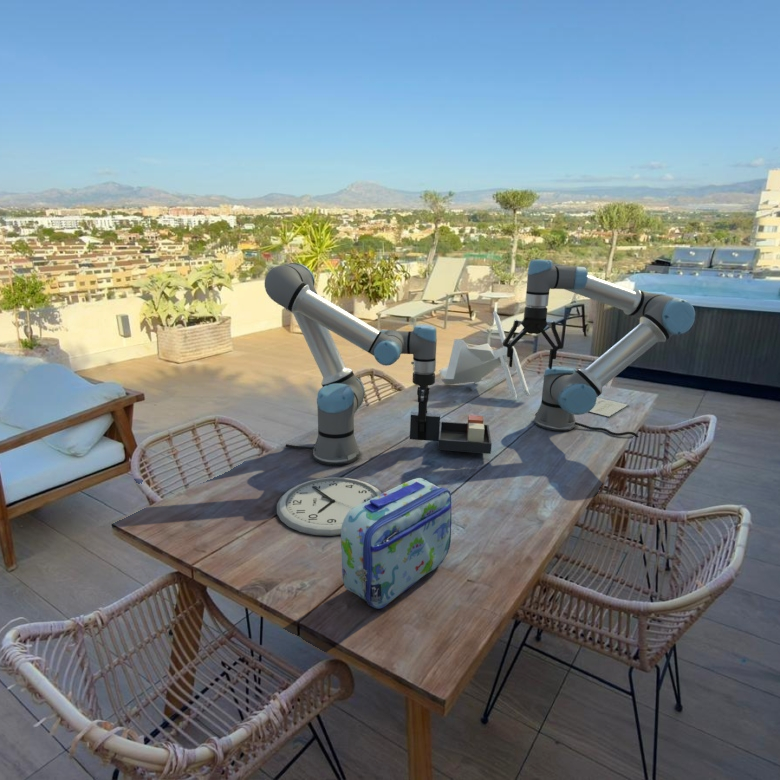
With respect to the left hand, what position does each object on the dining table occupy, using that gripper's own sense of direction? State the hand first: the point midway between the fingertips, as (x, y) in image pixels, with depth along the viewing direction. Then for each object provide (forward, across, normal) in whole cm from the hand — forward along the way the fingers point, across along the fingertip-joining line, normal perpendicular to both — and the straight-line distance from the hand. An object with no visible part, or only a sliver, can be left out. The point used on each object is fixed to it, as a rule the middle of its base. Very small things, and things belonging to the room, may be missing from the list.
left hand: (421, 437), depth 181 cm
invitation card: (+4, -55, +74) cm, 93 cm away
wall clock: (+3, +44, -22) cm, 49 cm away
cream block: (0, +4, +18) cm, 18 cm away
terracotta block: (0, -4, +18) cm, 19 cm away
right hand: (-23, -14, +36) cm, 45 cm away
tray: (+1, 0, +9) cm, 9 cm away
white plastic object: (+4, -67, +23) cm, 71 cm away
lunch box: (+4, +73, -1) cm, 73 cm away
